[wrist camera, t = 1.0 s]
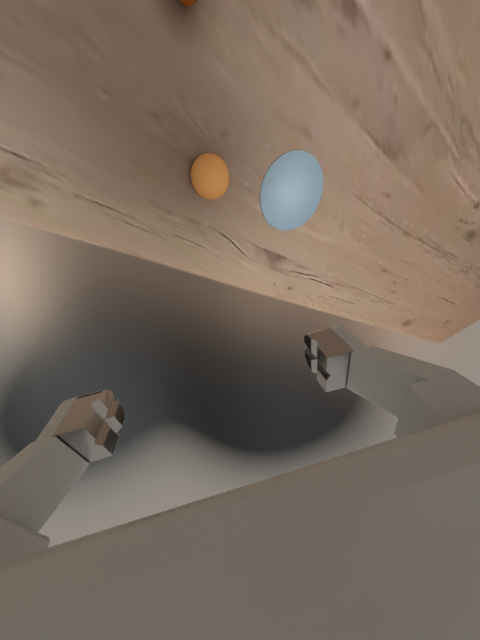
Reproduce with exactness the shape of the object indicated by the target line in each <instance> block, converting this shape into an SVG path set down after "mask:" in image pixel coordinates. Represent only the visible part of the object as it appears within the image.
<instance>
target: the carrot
mask: <svg viewBox="0 0 480 640" xmlns="http://www.w3.org/2000/svg"><path fill="white" fill-rule="evenodd" d="M179 1H181V2H182V3H183V4H185V5H186V6H188V7H189V6H190V5H192V4H193V3H195V2H196V1H197V0H179Z"/></svg>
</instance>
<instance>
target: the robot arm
mask: <svg viewBox="0 0 480 640" xmlns="http://www.w3.org/2000/svg"><path fill="white" fill-rule="evenodd" d="M304 343H305V344H306V346H307V347H306V349H305V350H304V354H305V359H306V362H307V365H308V367H309V368H310V370H311V371H312V372H314V373H316V374H317V380H318V382H319V383H320V384H321V386H322V387H323V389H324V390H325V392H329V391H332V390H336V389H340V388H344V387H347V388H348V389H350V390H351V391H353V392H355V393H356V394H358V395H360V396H362V397H363V398H365V399H367V400H368V401H370V402H372V403H374V404H375V405H377V406H379V407H381V408H383V409H384V410H386V411H388V412H389V413H391V414H393V415H394V416H396V417H398V422H397V424H396V427H395V430H394V434H395V435H396V436H397V437H398V438H394V439H391V440H388V441H385V442H382V443H379V444H375V445H373V446H369V447H366V448H363V449H360V450H357V451H354V452H350V453H347V454H344V455H341V456H337V457H334V458H331V459H328V460H325V461H321V462H319V463H315V464H312V465H309V466H306V467H302V468H299V469H296V470H293V471H290V472H287V473H283V474H281V475H277V476H274V477H271V478H268V479H264V480H261V481H259V482H255V483H252V484H249V485H245V486H243V487H239V488H236V489H233V490H230V491H226V492H223V493H220V494H217V495H214V496H211V497H207V498H204V499H201V500H198V501H195V502H192V503H188V504H185V505H182V506H179V507H176V508H172V509H169V510H166V511H163V512H160V513H157V514H153V515H150V516H147V517H144V518H141V519H138V520H135V521H131V522H128V523H125V524H122V525H119V526H115V527H112V528H109V529H106V530H103V531H99V532H97V533H93V534H90V535H87V536H84V537H80V538H77V539H74V540H71V541H68V542H65V543H62V544H58V545H55V546H52V547H49V548H48V545H49V543H50V539H49V537H47V536H45V535H42V534H40V533H38V532H39V530H40V529H41V528H42V527H43V525H44V524H45V523H46V521H47V520H48V519H49V517H50V516H51V515H52V513H53V512H54V511H55V509H56V508H57V507H58V505H59V504H60V503H61V501H62V500H63V499H64V497H65V496H66V495H67V493H68V492H69V491H70V489H71V488H72V487H73V485H74V484H75V483H76V481H77V480H78V479H79V478H80V476H81V475H82V474H83V472H84V471H85V470H86V468H87V467H88V465H89V463H90V462H93V461H96V460H99V459H102V458H106V457H109V456H112V455H113V453H114V450H115V447H116V444H117V441H118V438H119V437H118V434H117V432H118V431H119V430H120V428H121V427H122V426H123V423H124V420H125V411H124V408H123V406H122V405H121V403H120V402H117V401H115V400H113V398H114V395H113V394H112V392H111V391H110V390H102V391H98V392H94V393H91V394H86V395H82V396H79V397H75V398H72V399H67V400H66V401H64V402H62V403H61V405H60V407H59V408H58V409H57V411H56V412H55V414H54V415H53V416H52V418H51V420H50V421H49V422H48V424H47V425H46V427H45V428H44V430H43V431H42V433H41V434H40V435H39V437H38V438H37V440H36V441H35V442H34V443H31V444H29V445H28V446H27V447H26V448H24V449H23V450H22V451H21V452H20V453H18V454H17V455H16V456H15V457H14V458H12V459H11V460H10V461H9V462H8V463H6V464H5V465H4V466H3V467H2V468H0V640H480V387H479V386H478V385H476V384H475V383H473V382H471V381H470V380H468V379H467V378H465V377H464V376H462V375H460V374H459V373H458V372H456V371H454V370H451V369H448V368H444V367H441V366H438V365H435V364H431V363H428V362H424V361H421V360H418V359H414V358H411V357H407V356H404V355H401V354H397V353H394V352H391V351H387V350H384V349H381V348H377V347H374V346H370V347H368V346H366V345H365V344H364V343H363V342H362V341H360V340H359V339H358V338H357V337H356V336H354V335H353V334H352V333H351V332H350V331H348V330H347V329H346V328H345V327H344V326H342V325H335V326H332V327H329V328H326V329H323V330H319V331H316V332H312V333H308V334H305V336H304Z"/></svg>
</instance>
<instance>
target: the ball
mask: <svg viewBox="0 0 480 640" xmlns="http://www.w3.org/2000/svg"><path fill="white" fill-rule="evenodd" d="M191 180H192V183H193V186H194V188H195V190H196V191H197V192H198V193H199V194H200V195H201V196H202V197H204V198H206V199H217V198H219V197H221V196H222V195H223V194H224V193H225V192H226V190H227V188H228V185H229V172H228V168H227V166H226V164H225V162H224V161H223V160H222V159H221V158H220V157H219V156H217V155H215V154H212V153H204V154H202V155H200V156H199V157H198V158H197V159H196V160H195V161H194V163H193V165H192V169H191Z"/></svg>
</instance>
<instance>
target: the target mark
mask: <svg viewBox="0 0 480 640" xmlns="http://www.w3.org/2000/svg"><path fill="white" fill-rule="evenodd" d="M322 192H323V173H322V169H321V166H320V164H319V162H318V161H317V159H316V158H315V157H314V156H313V155H312V154H310V153H308V152H306V151H302V150H295V151H290V152H287V153H285V154H283V155H282V156H280V157H279V158H278V159H277V160H276V161H275V162H274V163H273V164H272V165H271V166H270V168H269V170H268V171H267V173H266V175H265V177H264V180H263V182H262V186H261V192H260V205H261V210H262V213H263V215H264V217H265V219H266V221H267V222H268V223H269V224H270V225H271V226H273V227H274V228H276V229H279V230H284V231H287V230H293V229H295V228H298V227H300V226H301V225H303V224H304V223H305V222H306V221H308V219H309V218H310V217H311V216H312V215H313V213H314V212H315V210H316V209H317V207H318V205H319V202H320V200H321V196H322Z"/></svg>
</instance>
